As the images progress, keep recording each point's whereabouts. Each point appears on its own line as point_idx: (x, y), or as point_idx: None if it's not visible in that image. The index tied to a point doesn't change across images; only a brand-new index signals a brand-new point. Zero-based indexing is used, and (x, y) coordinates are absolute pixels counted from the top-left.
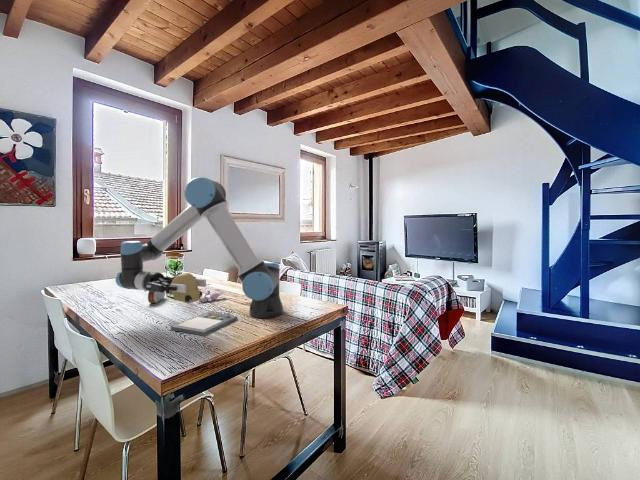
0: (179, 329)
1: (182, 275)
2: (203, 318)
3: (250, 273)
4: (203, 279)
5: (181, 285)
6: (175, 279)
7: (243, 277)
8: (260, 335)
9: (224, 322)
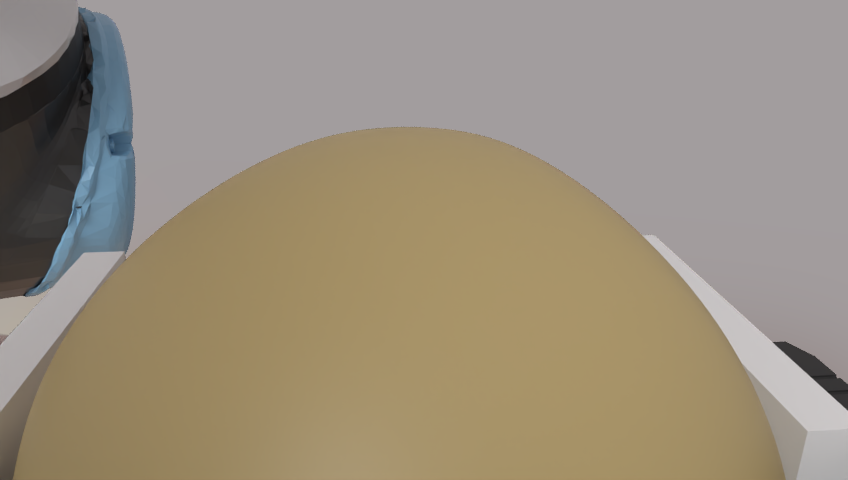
0: None
1: (549, 164)
2: None
3: (100, 26)
4: (79, 273)
5: (680, 265)
6: (707, 312)
7: (68, 88)
8: None
9: None
